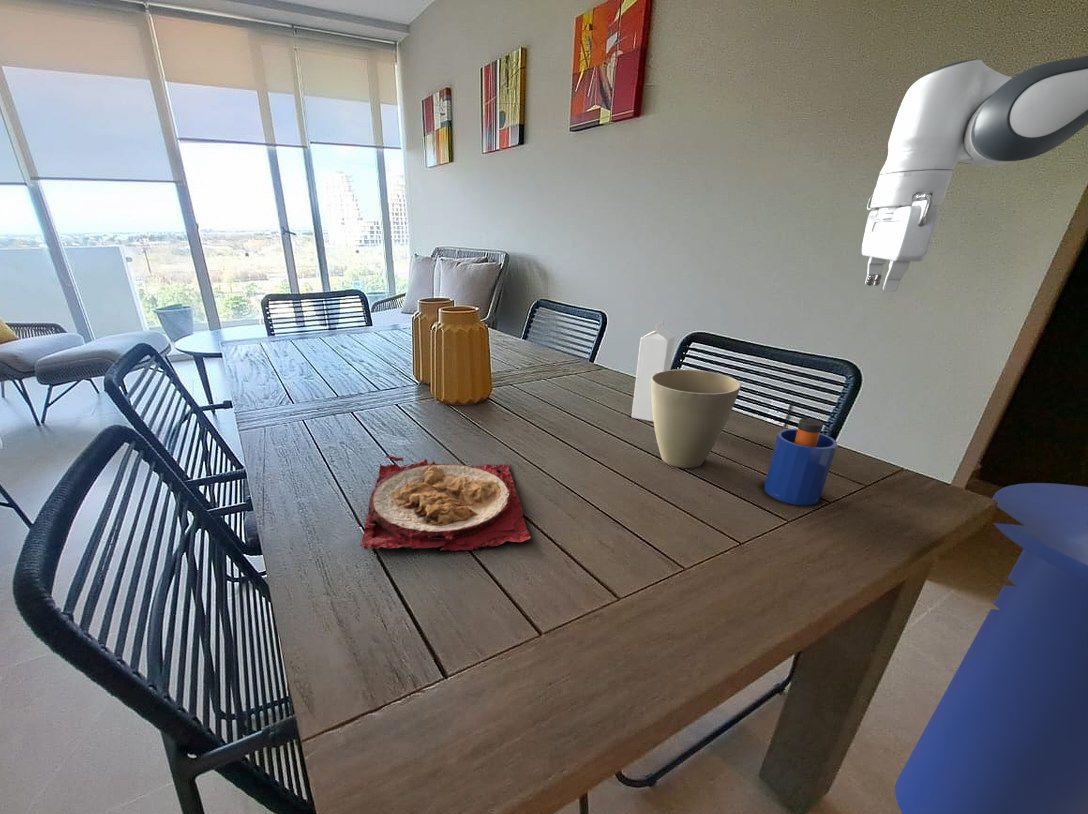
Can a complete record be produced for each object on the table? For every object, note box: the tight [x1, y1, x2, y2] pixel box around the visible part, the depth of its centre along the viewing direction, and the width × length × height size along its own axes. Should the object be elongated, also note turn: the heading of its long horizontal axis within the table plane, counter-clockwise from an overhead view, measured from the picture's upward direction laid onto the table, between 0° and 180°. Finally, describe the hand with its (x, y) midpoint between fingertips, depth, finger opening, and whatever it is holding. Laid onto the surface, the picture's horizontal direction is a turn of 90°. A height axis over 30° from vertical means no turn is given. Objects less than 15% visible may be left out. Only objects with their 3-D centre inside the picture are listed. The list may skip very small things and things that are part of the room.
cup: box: [763, 428, 838, 506], centre depth 78 cm, size 8×8×10 cm
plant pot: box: [651, 368, 742, 469], centre depth 89 cm, size 15×15×16 cm
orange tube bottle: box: [794, 418, 824, 447], centre depth 77 cm, size 3×3×12 cm
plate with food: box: [359, 455, 532, 552], centre depth 77 cm, size 24×26×3 cm
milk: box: [631, 320, 676, 423], centre depth 109 cm, size 6×6×22 cm
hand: (879, 288), depth 80 cm, fingers open, 8 cm apart
